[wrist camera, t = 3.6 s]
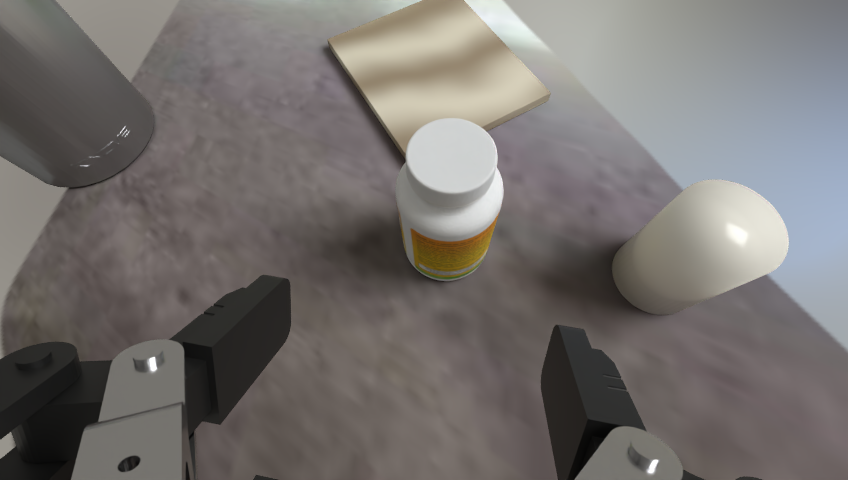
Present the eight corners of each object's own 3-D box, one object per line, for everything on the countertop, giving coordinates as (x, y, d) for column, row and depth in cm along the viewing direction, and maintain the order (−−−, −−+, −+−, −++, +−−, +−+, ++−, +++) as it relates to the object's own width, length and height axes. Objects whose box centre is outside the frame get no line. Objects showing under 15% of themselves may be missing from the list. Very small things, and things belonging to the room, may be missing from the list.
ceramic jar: (597, 280, 25) (654, 232, 18) (635, 224, 26) (701, 162, 20) (672, 332, 23) (763, 300, 17) (709, 270, 25) (805, 218, 18)
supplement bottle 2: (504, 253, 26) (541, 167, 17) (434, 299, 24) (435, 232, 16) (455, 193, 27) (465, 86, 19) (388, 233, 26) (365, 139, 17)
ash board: (329, 47, 33) (327, 39, 33) (451, -3, 36) (452, -12, 35) (411, 168, 28) (410, 161, 28) (548, 100, 31) (550, 92, 30)
